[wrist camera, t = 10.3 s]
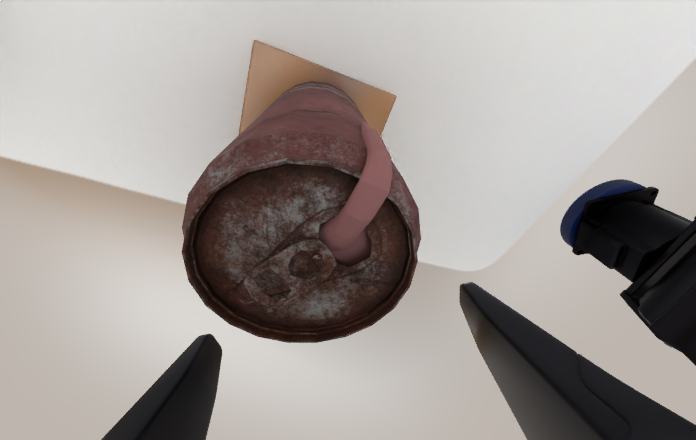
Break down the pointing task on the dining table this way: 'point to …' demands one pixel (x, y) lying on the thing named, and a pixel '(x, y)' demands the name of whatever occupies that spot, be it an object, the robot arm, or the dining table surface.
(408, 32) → the dining table surface
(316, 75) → the caramel mat
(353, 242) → the can
